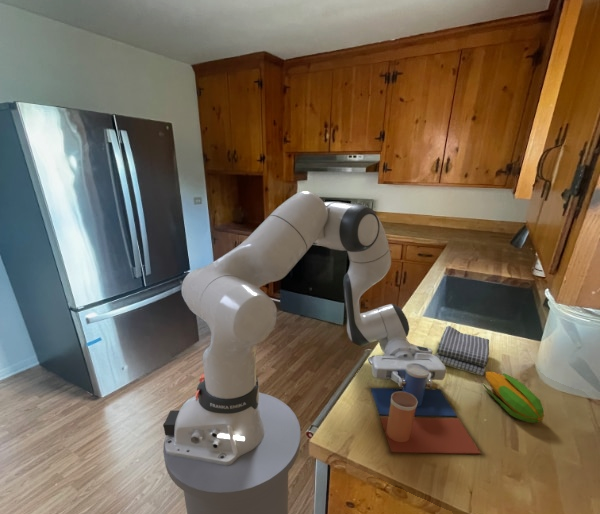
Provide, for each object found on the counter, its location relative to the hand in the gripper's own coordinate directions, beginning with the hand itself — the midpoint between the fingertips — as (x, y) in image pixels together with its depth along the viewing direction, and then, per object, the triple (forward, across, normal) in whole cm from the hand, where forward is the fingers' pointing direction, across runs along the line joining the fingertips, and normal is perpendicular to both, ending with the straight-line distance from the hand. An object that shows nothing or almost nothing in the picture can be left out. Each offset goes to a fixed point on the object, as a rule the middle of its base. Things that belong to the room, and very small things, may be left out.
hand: (416, 384), depth 86 cm
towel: (-24, +24, +6) cm, 34 cm away
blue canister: (-1, 0, +6) cm, 6 cm away
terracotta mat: (+11, 0, +6) cm, 13 cm away
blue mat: (-1, 0, +6) cm, 6 cm away
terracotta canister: (+11, -7, +6) cm, 15 cm away
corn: (-1, +26, +6) cm, 27 cm away
